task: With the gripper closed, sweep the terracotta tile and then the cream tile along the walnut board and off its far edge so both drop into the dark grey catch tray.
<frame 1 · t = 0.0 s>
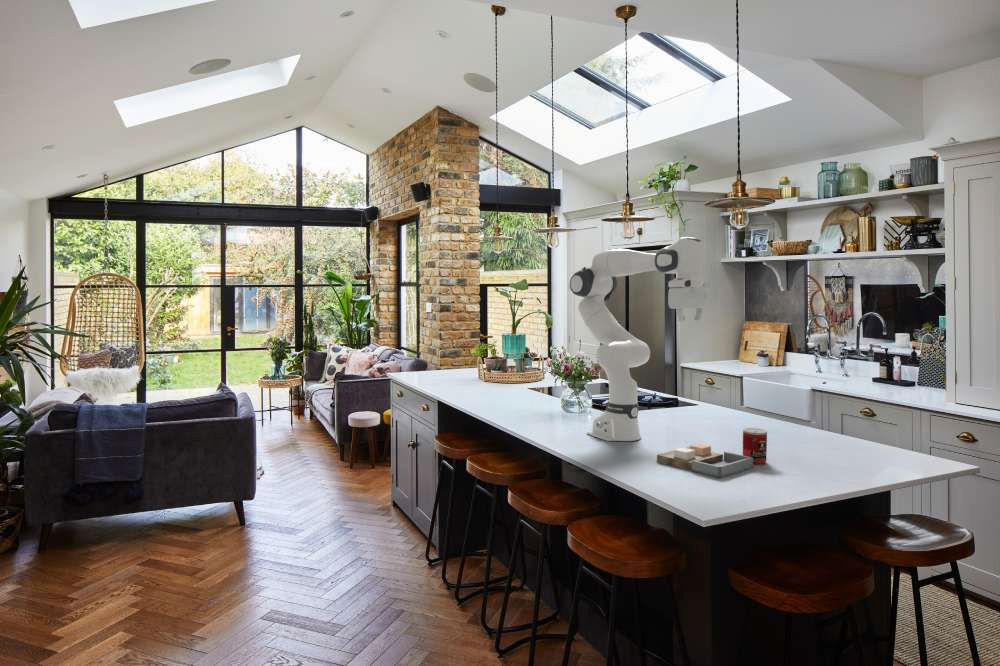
hand: (689, 321, 236), 48 cm above the counter, fingers open, 8 cm apart
canned food: (754, 462, 226), on the counter
tile terracotta: (700, 453, 229), point 2 cm above the counter, touching board
tray: (722, 469, 217), on the counter
tile cream: (684, 457, 223), point 2 cm above the counter, touching board
board: (689, 461, 227), on the counter
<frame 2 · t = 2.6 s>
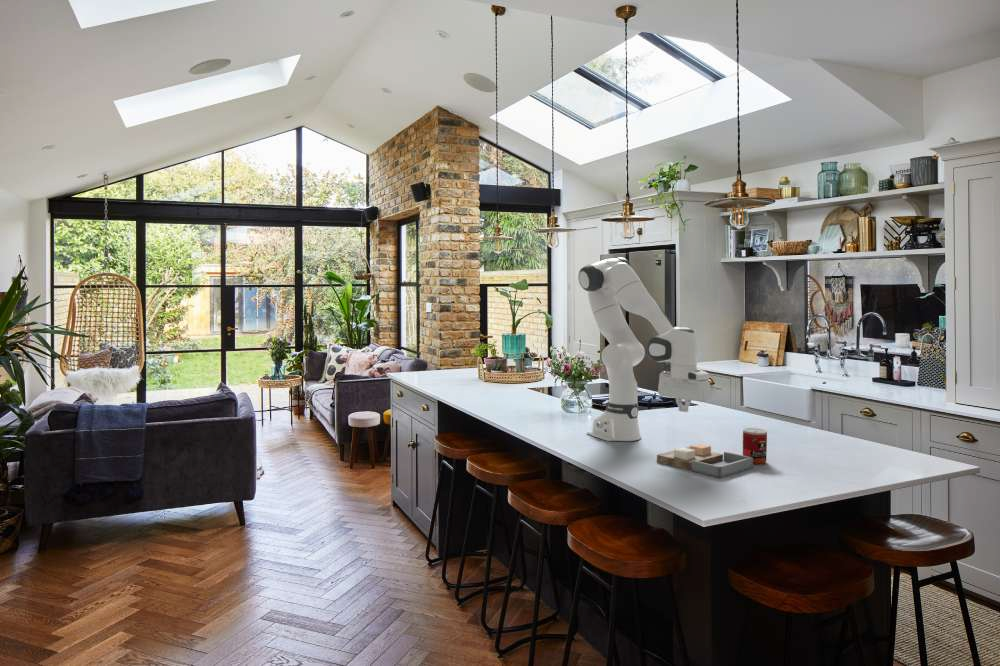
hand: (683, 411, 233), 16 cm above the counter, fingers closed
nothing on the counter moved.
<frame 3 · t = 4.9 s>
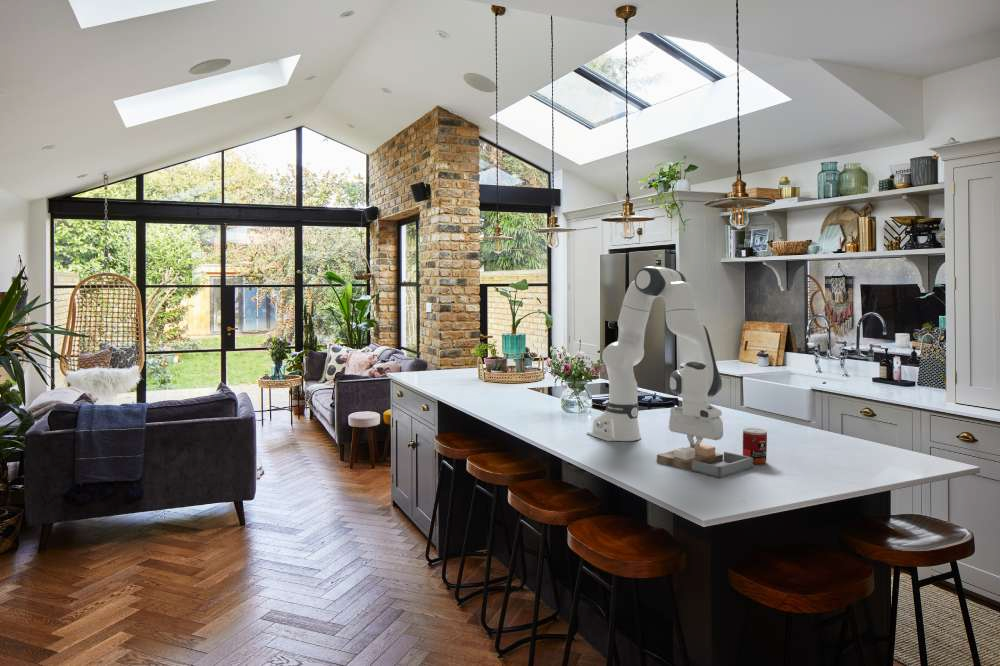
hand: (694, 448, 230), 4 cm above the counter, fingers closed
tile terracotta: (704, 453, 227), point 3 cm above the counter
everything else where it was.
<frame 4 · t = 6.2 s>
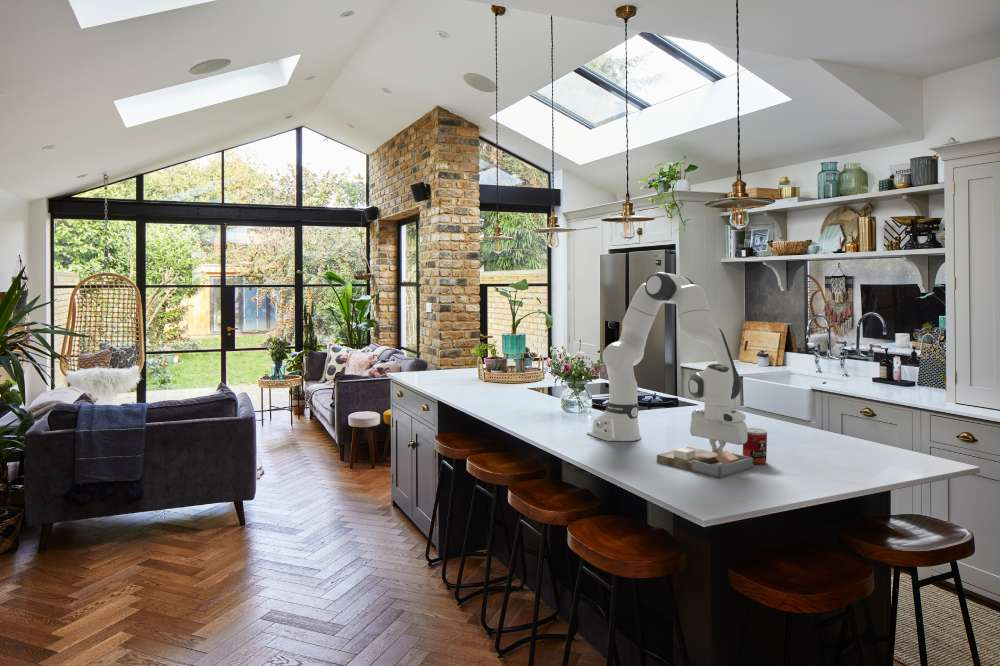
hand: (717, 453, 223), 4 cm above the counter, fingers closed
tile terracotta: (725, 461, 221), point 1 cm above the counter, tilted 21°, touching tray
everything else where it was.
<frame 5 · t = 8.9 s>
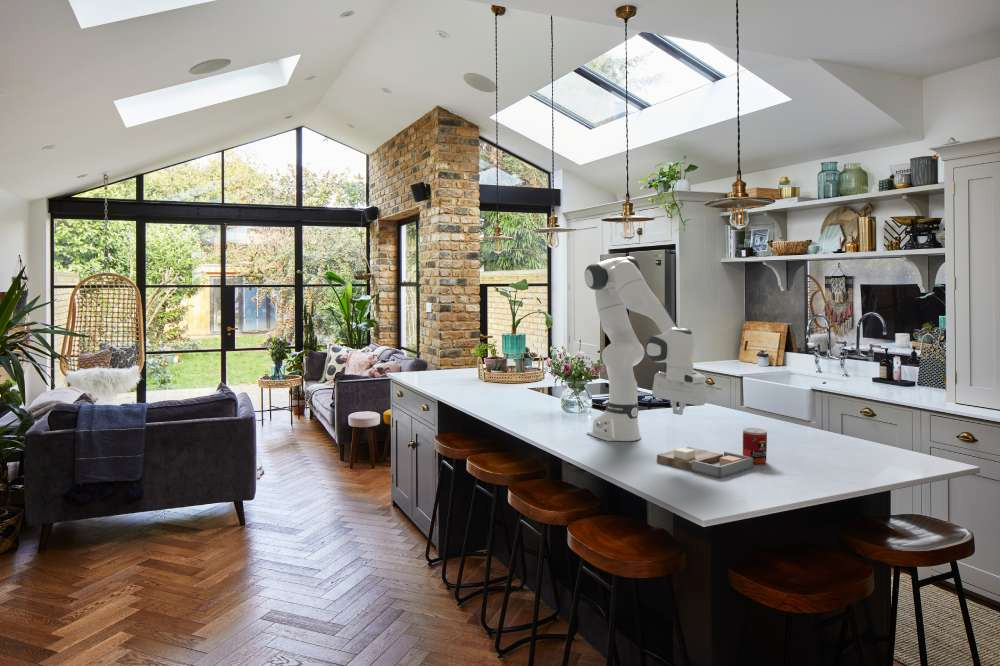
hand: (677, 414, 227), 16 cm above the counter, fingers closed
tile terracotta: (730, 465, 219), point 1 cm above the counter, touching tray
everything else where it was.
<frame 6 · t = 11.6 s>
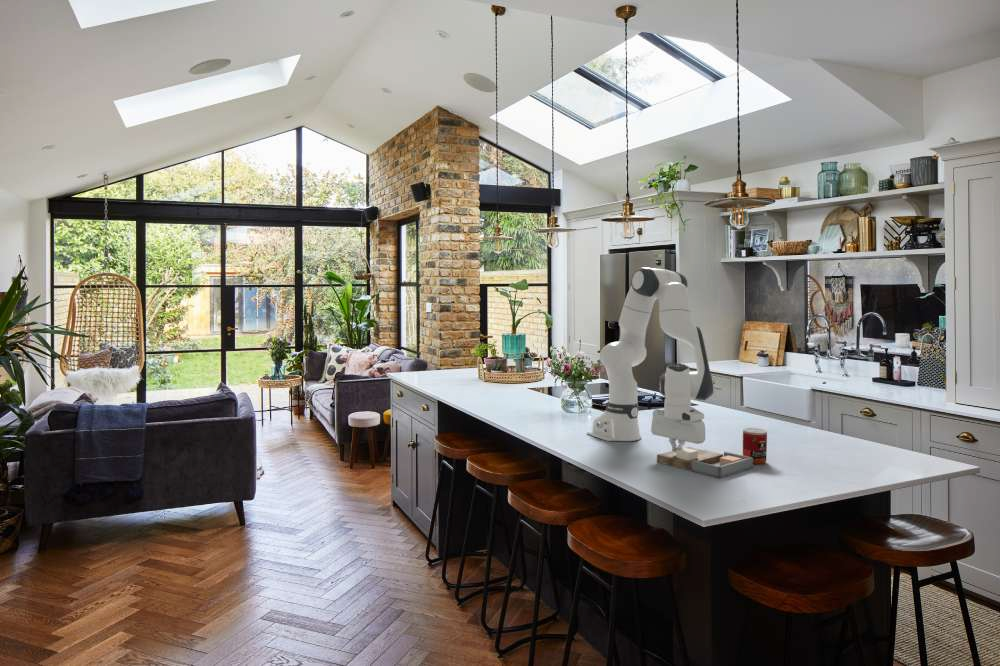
hand: (677, 451, 225), 4 cm above the counter, fingers closed
tile cream: (686, 457, 222), point 2 cm above the counter, touching board, gripper
everything else where it was.
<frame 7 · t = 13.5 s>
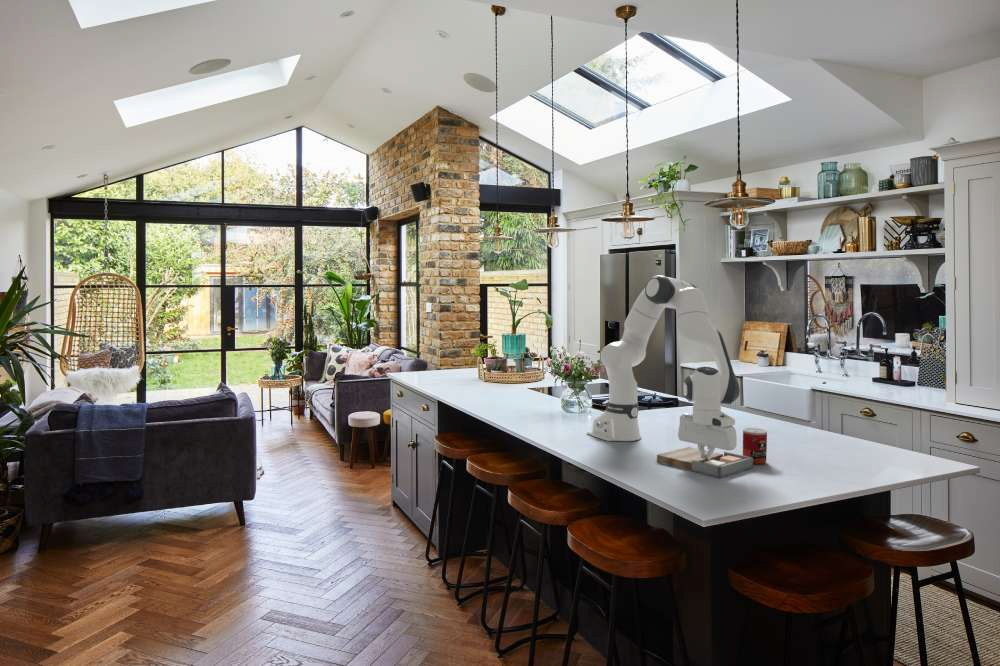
hand: (706, 458, 216), 4 cm above the counter, fingers closed
tile cream: (714, 470, 214), point 1 cm above the counter, touching tray
everything else where it was.
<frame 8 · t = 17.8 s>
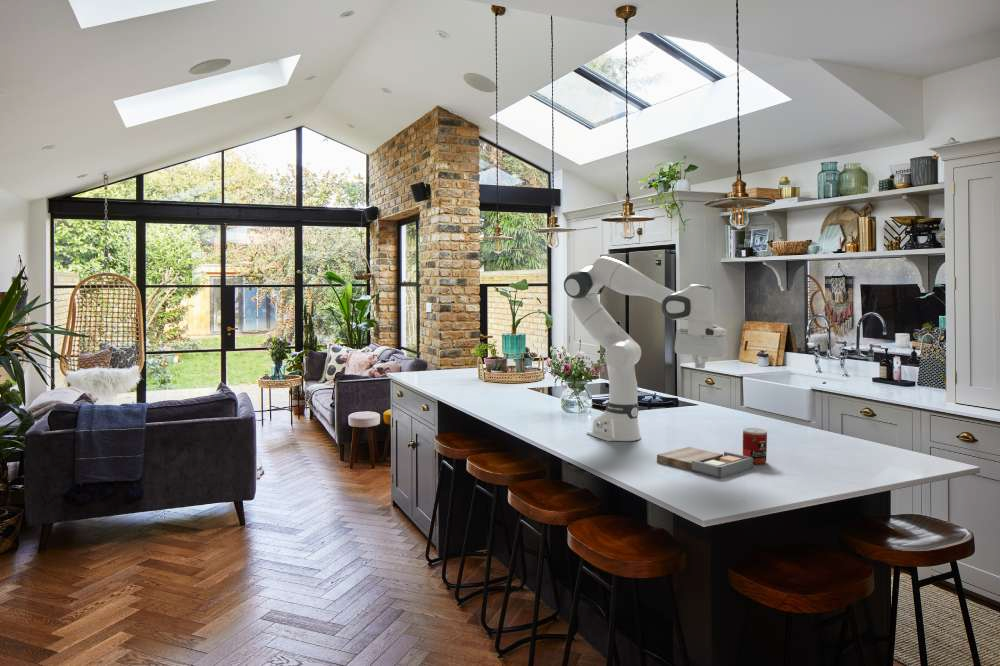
hand: (699, 368, 236), 31 cm above the counter, fingers closed
nothing on the counter moved.
at the end: tile terracotta inside the target area on the tray (4.5 cm from its centre), point 0.6 cm above the tray's base; tile cream inside the target area on the tray (4.4 cm from its centre), point 0.6 cm above the tray's base; tile cream touching tray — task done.
